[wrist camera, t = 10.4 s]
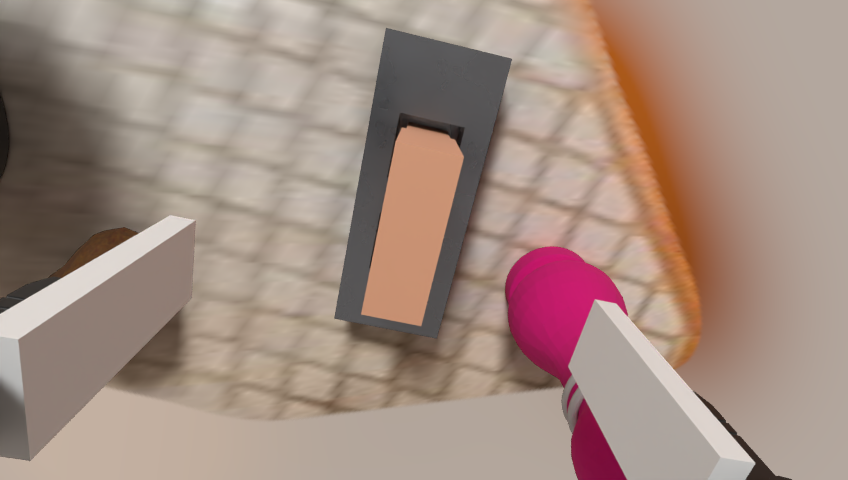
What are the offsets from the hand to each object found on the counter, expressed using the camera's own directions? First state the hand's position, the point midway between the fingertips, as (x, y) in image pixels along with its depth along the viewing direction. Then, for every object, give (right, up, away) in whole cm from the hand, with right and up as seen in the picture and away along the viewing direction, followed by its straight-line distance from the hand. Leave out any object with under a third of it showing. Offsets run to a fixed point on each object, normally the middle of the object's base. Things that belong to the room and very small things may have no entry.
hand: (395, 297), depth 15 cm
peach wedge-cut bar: (0, +5, +15) cm, 16 cm away
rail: (0, +5, +16) cm, 17 cm away
